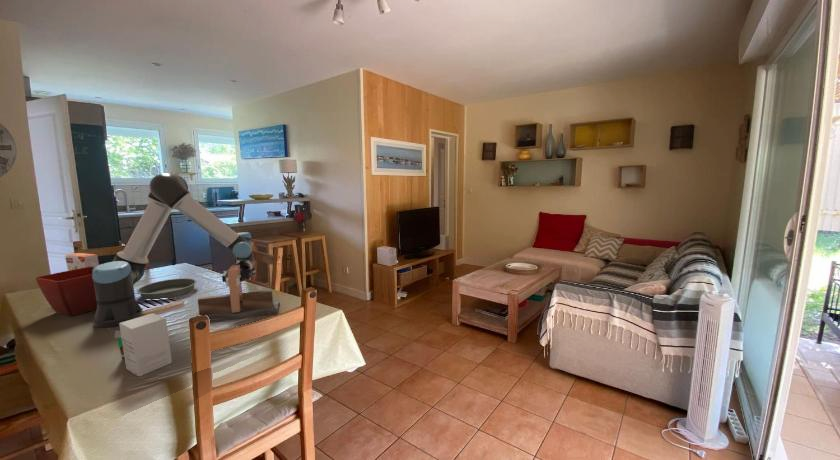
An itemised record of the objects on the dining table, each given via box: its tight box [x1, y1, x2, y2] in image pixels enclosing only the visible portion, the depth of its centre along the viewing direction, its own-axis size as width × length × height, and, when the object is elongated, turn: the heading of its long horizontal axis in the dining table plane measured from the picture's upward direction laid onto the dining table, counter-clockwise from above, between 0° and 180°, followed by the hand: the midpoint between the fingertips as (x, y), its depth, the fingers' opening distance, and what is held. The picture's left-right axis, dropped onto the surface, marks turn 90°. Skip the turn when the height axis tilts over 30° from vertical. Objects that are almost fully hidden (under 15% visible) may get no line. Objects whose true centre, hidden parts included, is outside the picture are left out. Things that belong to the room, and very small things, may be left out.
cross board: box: [193, 289, 280, 323], centre depth 147 cm, size 14×32×8 cm, turn 108°
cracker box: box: [64, 252, 100, 271], centre depth 172 cm, size 14×6×21 cm, turn 73°
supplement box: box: [118, 312, 173, 377], centre depth 105 cm, size 9×9×15 cm
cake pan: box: [136, 277, 198, 301], centre depth 174 cm, size 25×25×4 cm
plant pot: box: [35, 267, 97, 317], centre depth 152 cm, size 19×19×17 cm
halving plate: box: [227, 264, 243, 313], centre depth 146 cm, size 9×3×18 cm, turn 18°
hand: (232, 282), depth 141 cm, fingers closed on halving plate, 3 cm apart
